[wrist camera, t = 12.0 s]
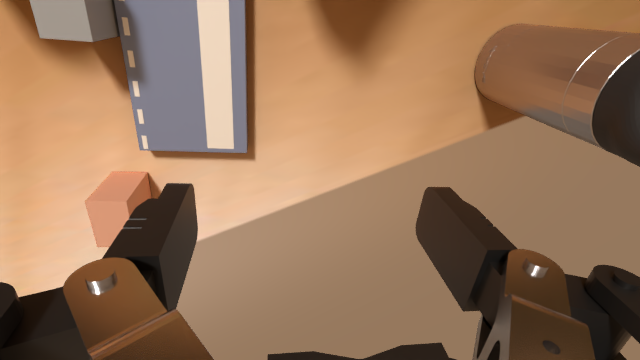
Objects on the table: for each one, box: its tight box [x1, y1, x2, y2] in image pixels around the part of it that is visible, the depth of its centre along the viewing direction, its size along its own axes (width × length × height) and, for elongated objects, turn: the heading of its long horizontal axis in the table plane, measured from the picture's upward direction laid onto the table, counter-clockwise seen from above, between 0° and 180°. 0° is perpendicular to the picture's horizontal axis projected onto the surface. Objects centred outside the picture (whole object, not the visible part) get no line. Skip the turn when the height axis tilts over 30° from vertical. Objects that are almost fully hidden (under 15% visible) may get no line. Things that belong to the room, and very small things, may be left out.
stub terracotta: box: [85, 172, 152, 247], centre depth 40 cm, size 4×6×7 cm, turn 175°
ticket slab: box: [114, 0, 248, 153], centre depth 35 cm, size 12×20×2 cm, turn 175°
